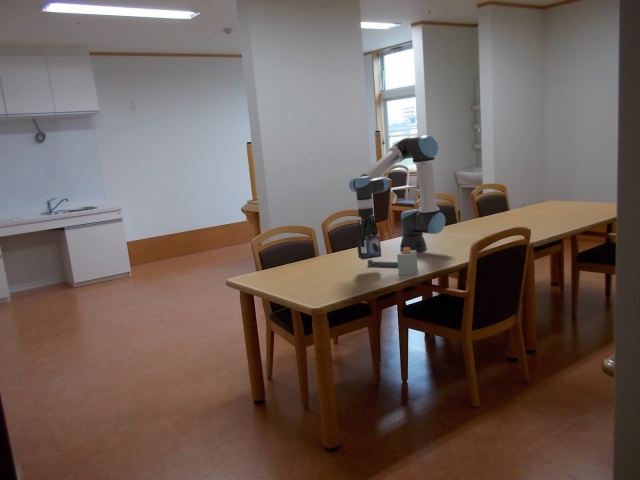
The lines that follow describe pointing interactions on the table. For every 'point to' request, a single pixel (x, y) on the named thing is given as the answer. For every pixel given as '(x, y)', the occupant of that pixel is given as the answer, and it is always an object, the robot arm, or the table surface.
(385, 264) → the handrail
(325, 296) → the table surface
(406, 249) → the button
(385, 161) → the robot arm
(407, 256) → the end cabinet
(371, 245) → the small box
